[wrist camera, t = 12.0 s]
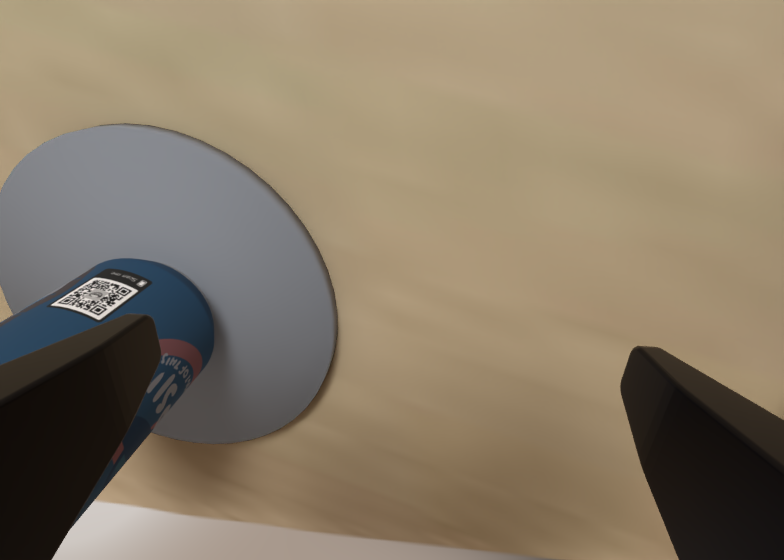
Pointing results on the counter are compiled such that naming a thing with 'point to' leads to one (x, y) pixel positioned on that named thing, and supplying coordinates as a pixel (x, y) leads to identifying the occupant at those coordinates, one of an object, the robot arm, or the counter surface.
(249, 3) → the counter surface
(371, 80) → the counter surface
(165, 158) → the rubber mat
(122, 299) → the soda can
